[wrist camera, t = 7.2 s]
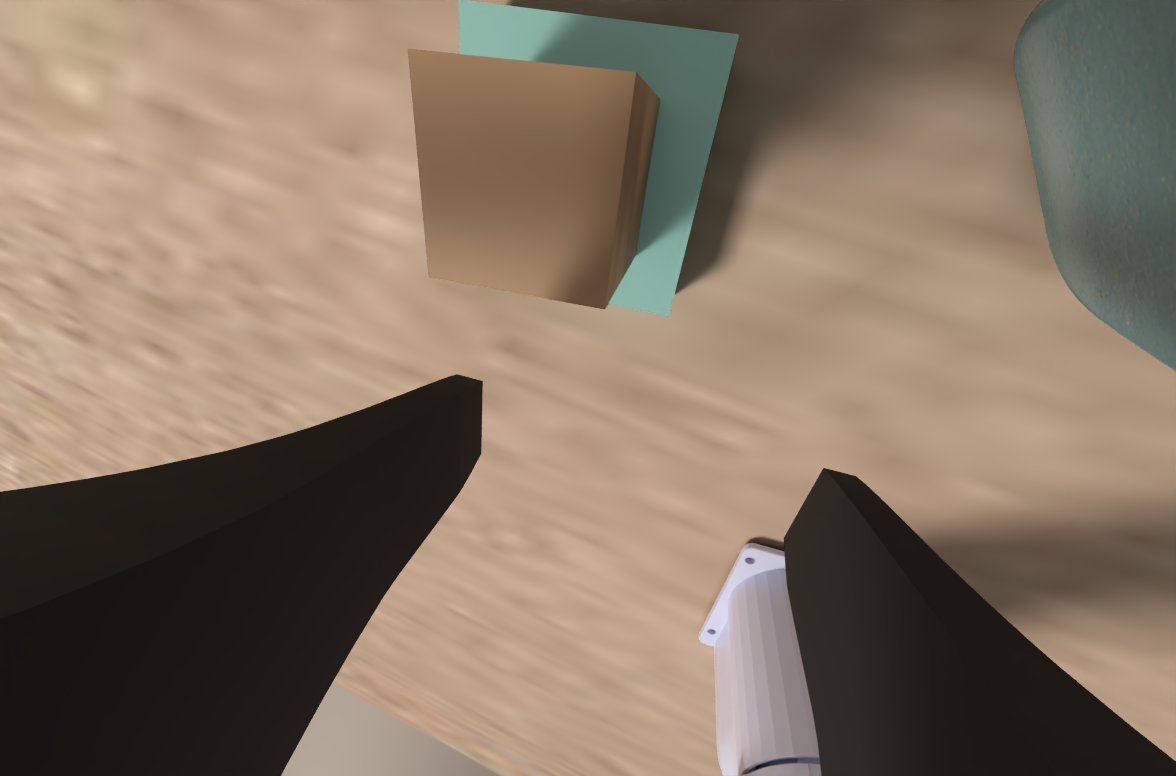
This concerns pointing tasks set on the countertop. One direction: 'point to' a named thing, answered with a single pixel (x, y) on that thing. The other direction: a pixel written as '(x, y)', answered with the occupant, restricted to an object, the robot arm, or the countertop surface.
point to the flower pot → (1107, 156)
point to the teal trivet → (684, 126)
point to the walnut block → (531, 172)
